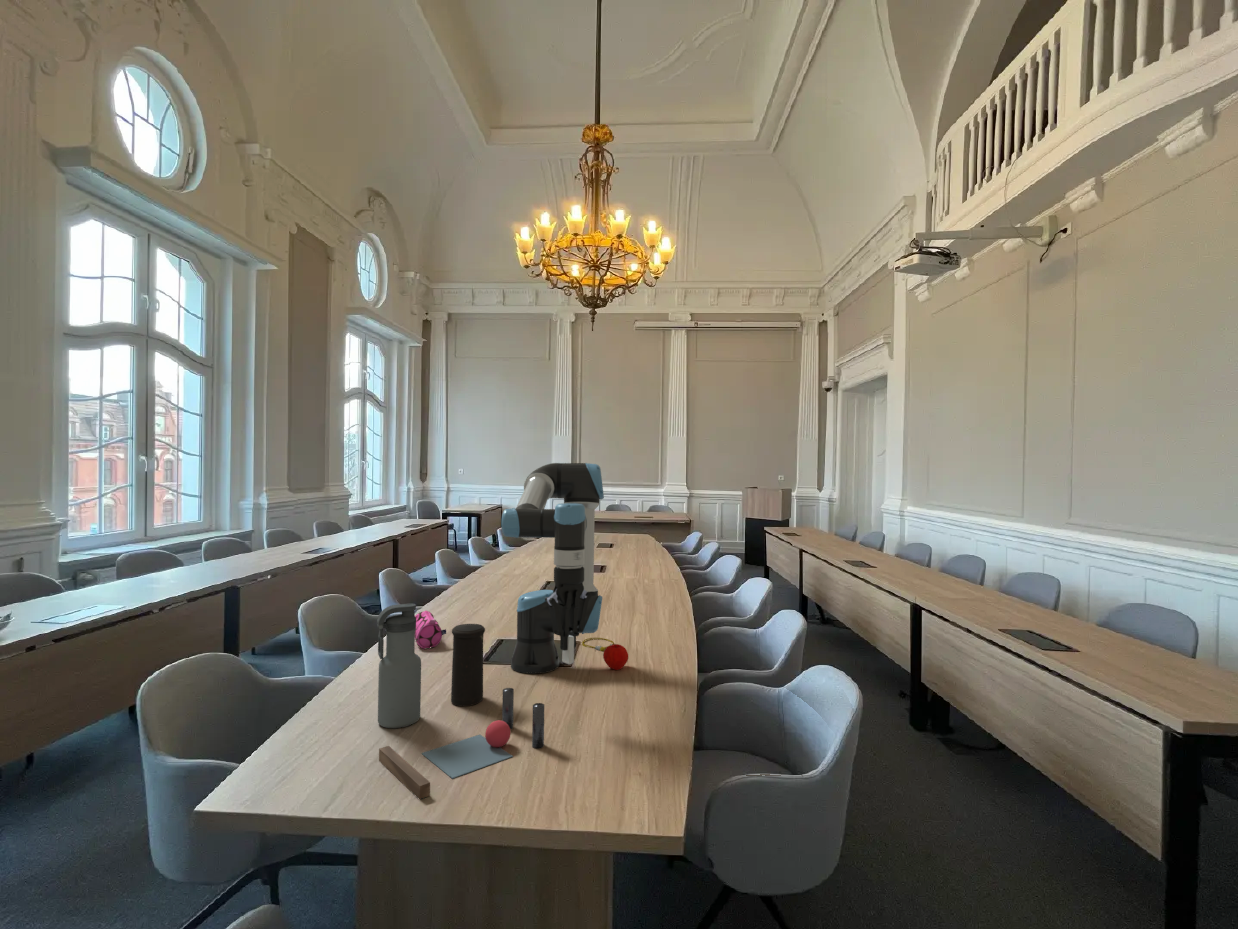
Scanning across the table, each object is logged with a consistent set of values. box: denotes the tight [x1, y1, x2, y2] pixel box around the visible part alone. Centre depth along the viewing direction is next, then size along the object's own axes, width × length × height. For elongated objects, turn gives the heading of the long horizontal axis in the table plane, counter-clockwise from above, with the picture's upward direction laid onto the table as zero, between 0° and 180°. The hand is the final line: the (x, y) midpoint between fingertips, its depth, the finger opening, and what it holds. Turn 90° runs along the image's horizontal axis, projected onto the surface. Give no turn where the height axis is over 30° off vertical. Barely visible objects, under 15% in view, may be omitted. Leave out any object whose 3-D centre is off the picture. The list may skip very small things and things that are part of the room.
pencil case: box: [415, 610, 447, 650], centre depth 214 cm, size 21×10×10 cm, turn 28°
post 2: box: [531, 702, 545, 750], centre depth 132 cm, size 3×3×9 cm
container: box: [450, 623, 486, 707], centre depth 158 cm, size 9×9×20 cm
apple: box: [602, 643, 629, 671], centre depth 186 cm, size 8×8×7 cm
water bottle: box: [376, 603, 422, 729], centre depth 145 cm, size 10×10×28 cm
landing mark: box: [421, 734, 514, 780], centre depth 127 cm, size 14×14×1 cm
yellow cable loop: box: [581, 637, 615, 653], centre depth 211 cm, size 12×16×2 cm
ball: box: [484, 719, 512, 748], centre depth 132 cm, size 6×6×6 cm
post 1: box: [501, 687, 515, 731], centre depth 142 cm, size 3×3×9 cm
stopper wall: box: [378, 745, 431, 800], centre depth 118 cm, size 2×20×2 cm, turn 43°
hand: (567, 662), depth 146 cm, fingers closed
